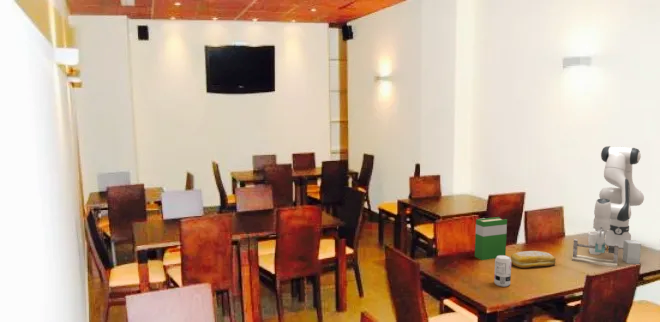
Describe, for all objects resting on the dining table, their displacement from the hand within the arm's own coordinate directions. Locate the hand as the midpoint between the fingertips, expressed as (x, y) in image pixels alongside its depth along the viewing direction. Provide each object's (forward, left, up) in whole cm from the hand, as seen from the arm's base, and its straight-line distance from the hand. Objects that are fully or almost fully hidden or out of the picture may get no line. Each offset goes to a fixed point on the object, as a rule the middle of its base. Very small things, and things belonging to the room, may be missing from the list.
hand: (600, 248), depth 305 cm
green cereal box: (+23, -60, -9) cm, 64 cm away
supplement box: (-11, +16, -9) cm, 22 cm away
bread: (+26, -34, -9) cm, 44 cm away
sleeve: (0, 0, -2) cm, 2 cm away
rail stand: (0, -3, -9) cm, 9 cm away
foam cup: (-19, -4, -9) cm, 21 cm away
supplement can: (+67, -43, -9) cm, 80 cm away
